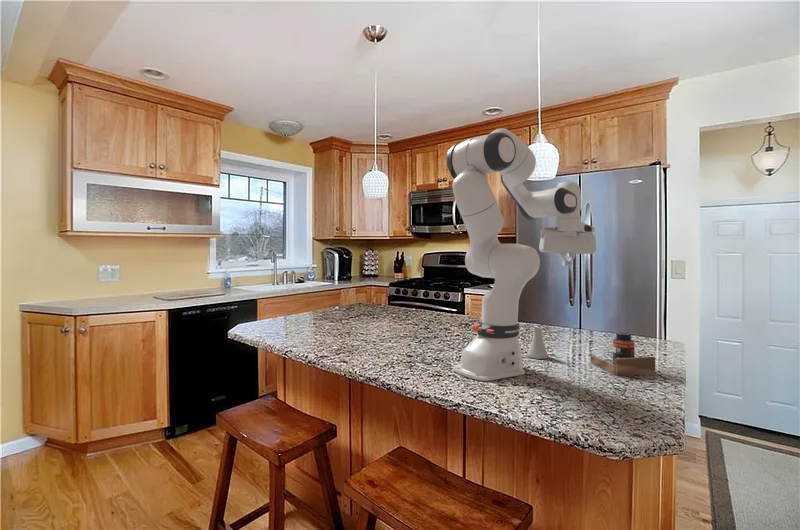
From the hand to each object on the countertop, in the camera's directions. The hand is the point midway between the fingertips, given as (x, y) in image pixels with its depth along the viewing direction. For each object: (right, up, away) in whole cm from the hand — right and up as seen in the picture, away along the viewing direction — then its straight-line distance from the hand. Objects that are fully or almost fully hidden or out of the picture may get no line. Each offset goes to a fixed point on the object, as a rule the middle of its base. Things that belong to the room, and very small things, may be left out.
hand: (567, 265), depth 143 cm
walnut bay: (+9, -32, -19) cm, 39 cm away
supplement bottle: (+9, -32, -19) cm, 39 cm away
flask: (-13, -32, -6) cm, 35 cm away
